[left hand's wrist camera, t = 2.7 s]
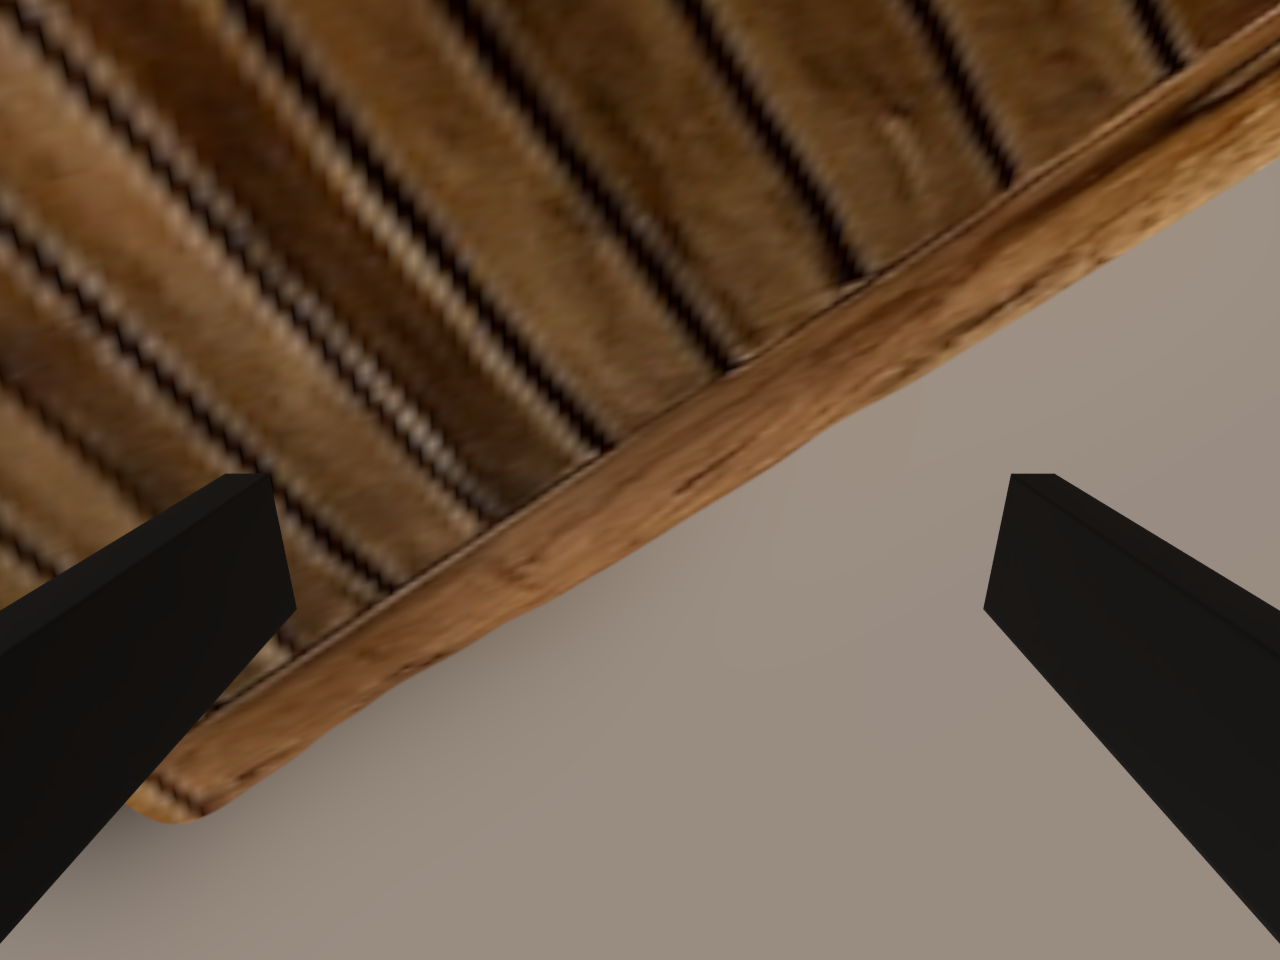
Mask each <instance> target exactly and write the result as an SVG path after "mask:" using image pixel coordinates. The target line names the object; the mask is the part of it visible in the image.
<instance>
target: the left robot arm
mask: <svg viewBox="0 0 1280 960" xmlns="http://www.w3.org/2000/svg"><path fill="white" fill-rule="evenodd" d="M296 609H297V608H296V603H295V598H294V594H293V589H292V584H291V579H290V574H289V569H288V564H287V560H286V555H285V550H284V545H283V540H282V535H281V530H280V526H279V521H278V516H277V511H276V506H275V501H274V496H273V492H272V487H271V482H270V477H269V474H224V475H223V476H221V477H219V478H218V479H216V480H214V481H213V482H211V483H209V484H208V485H206V486H204V487H203V488H201V489H200V490H198V491H196V492H195V493H193V494H191V495H190V496H188V497H186V498H185V499H183V500H181V501H180V502H178V503H177V504H175V505H173V506H172V507H170V508H168V509H167V510H165V511H163V512H162V513H160V514H158V515H157V516H155V517H153V518H152V519H150V520H149V521H147V522H145V523H144V524H142V525H140V526H139V527H137V528H135V529H134V530H132V531H130V532H129V533H127V534H126V535H124V536H122V537H121V538H119V539H117V540H116V541H114V542H112V543H111V544H109V545H107V546H106V547H104V548H103V549H101V550H99V551H98V552H96V553H94V554H93V555H91V556H89V557H88V558H86V559H84V560H83V561H81V562H79V563H78V564H76V565H75V566H73V567H71V568H70V569H68V570H66V571H65V572H63V573H61V574H60V575H58V576H56V577H55V578H53V579H52V580H50V581H48V582H47V583H45V584H43V585H42V586H40V587H38V588H37V589H35V590H33V591H32V592H30V593H29V594H27V595H25V596H24V597H22V598H20V599H19V600H17V601H15V602H14V603H12V604H10V605H9V606H7V607H5V608H4V609H2V610H1V611H0V943H1V942H2V941H3V940H4V939H5V938H6V936H7V935H8V934H9V933H10V932H11V931H12V930H13V929H14V927H15V926H16V925H17V924H18V923H19V922H20V921H21V920H22V918H23V917H24V916H25V915H26V914H27V913H28V912H29V910H30V909H31V908H32V907H33V906H34V905H35V904H36V903H37V901H38V900H39V899H40V898H41V897H42V896H43V895H44V894H45V892H46V891H47V890H48V889H49V888H50V887H51V886H52V885H53V883H54V882H55V881H56V880H57V879H58V878H59V877H60V875H61V874H62V873H63V872H64V871H65V870H66V869H67V868H68V866H69V865H70V864H71V863H72V862H73V861H74V860H75V859H76V857H77V856H78V855H79V854H80V853H81V852H82V851H83V849H84V848H85V847H86V846H87V845H88V844H89V843H90V842H91V841H92V839H93V838H94V837H95V836H96V835H97V834H98V833H99V832H100V830H101V829H102V828H103V827H104V826H105V825H106V824H107V822H108V821H109V820H110V819H111V818H112V817H113V816H114V815H115V813H116V812H117V811H118V810H119V809H120V808H121V807H122V806H123V804H124V803H125V802H126V801H127V800H128V799H129V798H130V797H131V795H132V794H133V793H134V792H135V791H136V790H137V789H138V788H139V786H140V785H141V784H142V783H143V782H144V781H145V780H146V779H147V777H148V776H149V775H150V774H151V773H152V772H153V771H154V769H155V768H156V767H157V766H158V765H159V764H160V763H161V762H162V760H163V759H164V758H165V757H166V756H167V755H168V754H169V753H170V751H171V750H172V749H173V748H174V747H175V746H176V745H177V744H178V742H179V741H180V740H181V739H182V738H183V737H184V736H185V735H186V733H187V732H188V731H189V730H190V729H191V728H192V727H193V725H194V724H195V723H196V722H197V721H198V720H199V719H200V718H201V716H202V715H203V714H204V713H205V712H206V711H207V710H208V709H209V707H210V706H211V705H212V704H213V703H214V702H215V701H216V700H217V698H218V697H219V696H220V695H221V694H222V693H223V692H224V691H225V689H226V688H227V687H228V686H229V685H230V684H231V683H232V681H233V680H234V679H235V678H236V677H237V676H238V675H239V674H240V672H241V671H242V670H243V669H244V668H245V667H246V666H247V665H248V663H249V662H250V661H251V660H252V659H253V658H254V657H255V656H256V654H257V653H258V652H259V651H260V650H261V649H262V648H263V646H264V645H265V644H266V643H267V642H268V641H269V640H270V639H271V637H272V636H273V635H274V634H275V633H276V632H277V631H278V630H279V628H280V627H281V626H282V625H283V624H284V623H285V622H286V621H287V619H288V618H289V617H290V616H291V615H292V614H293V613H294V612H295V610H296ZM983 609H984V610H985V612H986V613H987V614H988V615H989V616H990V617H991V618H992V619H993V621H994V622H995V623H996V624H997V625H998V626H999V627H1000V628H1001V630H1002V631H1003V632H1004V633H1005V634H1006V635H1007V636H1008V637H1009V639H1010V640H1011V641H1012V642H1013V643H1014V644H1015V645H1016V646H1017V648H1018V649H1019V650H1020V651H1021V652H1022V653H1023V654H1024V656H1025V657H1026V658H1027V659H1028V660H1029V661H1030V662H1031V663H1032V664H1033V666H1034V667H1035V668H1036V669H1037V670H1038V671H1039V672H1040V674H1041V675H1042V676H1043V677H1044V678H1045V679H1046V680H1047V681H1048V683H1049V684H1050V685H1051V686H1052V687H1053V688H1054V689H1055V691H1056V692H1057V693H1058V694H1059V695H1060V696H1061V697H1062V698H1063V700H1064V701H1065V702H1066V703H1067V704H1068V705H1069V706H1070V707H1071V709H1072V710H1073V711H1074V712H1075V713H1076V714H1077V715H1078V716H1079V718H1080V719H1081V720H1082V721H1083V722H1084V723H1085V724H1086V725H1087V727H1088V728H1089V729H1090V730H1091V731H1092V732H1093V733H1094V734H1095V736H1096V737H1097V738H1098V739H1099V740H1100V741H1101V742H1102V744H1103V745H1104V746H1105V747H1106V748H1107V749H1108V750H1109V751H1110V753H1111V754H1112V755H1113V756H1114V757H1115V758H1116V759H1117V760H1118V762H1119V763H1120V764H1121V765H1122V766H1123V767H1124V768H1125V769H1126V771H1127V772H1128V773H1129V774H1130V775H1131V776H1132V777H1133V779H1134V780H1135V781H1136V782H1137V783H1138V784H1139V785H1140V786H1141V788H1142V789H1143V790H1144V791H1145V792H1146V793H1147V794H1148V795H1149V797H1150V798H1151V799H1152V800H1153V801H1154V802H1155V803H1156V804H1157V806H1158V807H1159V808H1160V809H1161V810H1162V811H1163V812H1164V813H1165V815H1166V816H1167V817H1168V818H1169V819H1170V820H1171V821H1172V822H1173V824H1174V825H1175V826H1176V827H1177V828H1178V829H1179V830H1180V832H1181V833H1182V834H1183V835H1184V836H1185V837H1186V838H1187V839H1188V841H1189V842H1190V843H1191V844H1192V845H1193V846H1194V847H1195V848H1196V850H1197V851H1198V852H1199V853H1200V854H1201V855H1202V856H1203V857H1204V859H1205V860H1206V861H1207V862H1208V863H1209V864H1210V865H1211V866H1212V868H1213V869H1214V870H1215V871H1216V872H1217V873H1218V874H1219V876H1220V877H1221V878H1222V879H1223V880H1224V881H1225V882H1226V883H1227V885H1228V886H1229V887H1230V888H1231V889H1232V890H1233V891H1234V892H1235V894H1236V895H1237V896H1238V897H1239V898H1240V899H1241V900H1242V901H1243V903H1244V904H1245V905H1246V906H1247V907H1248V908H1249V909H1250V910H1251V912H1252V913H1253V914H1254V915H1255V916H1256V917H1257V918H1258V920H1259V921H1260V922H1261V923H1262V924H1263V925H1264V926H1265V927H1266V929H1267V930H1268V931H1269V932H1270V933H1271V934H1272V935H1273V936H1274V938H1275V939H1276V940H1277V941H1278V942H1279V943H1280V611H1279V610H1278V609H1276V608H1275V607H1273V606H1271V605H1270V604H1268V603H1266V602H1265V601H1263V600H1261V599H1260V598H1258V597H1256V596H1255V595H1253V594H1251V593H1250V592H1248V591H1247V590H1245V589H1243V588H1242V587H1240V586H1238V585H1237V584H1235V583H1233V582H1232V581H1230V580H1228V579H1227V578H1225V577H1224V576H1222V575H1220V574H1219V573H1217V572H1215V571H1214V570H1212V569H1210V568H1209V567H1207V566H1205V565H1204V564H1202V563H1200V562H1199V561H1197V560H1196V559H1194V558H1192V557H1191V556H1189V555H1187V554H1186V553H1184V552H1182V551H1181V550H1179V549H1177V548H1176V547H1174V546H1173V545H1171V544H1169V543H1168V542H1166V541H1164V540H1163V539H1161V538H1159V537H1158V536H1156V535H1154V534H1153V533H1151V532H1150V531H1148V530H1146V529H1145V528H1143V527H1141V526H1140V525H1138V524H1136V523H1135V522H1133V521H1131V520H1130V519H1128V518H1126V517H1125V516H1123V515H1121V514H1120V513H1118V512H1117V511H1115V510H1113V509H1112V508H1110V507H1108V506H1107V505H1105V504H1103V503H1102V502H1100V501H1098V500H1097V499H1095V498H1094V497H1092V496H1090V495H1089V494H1087V493H1085V492H1084V491H1082V490H1080V489H1079V488H1077V487H1075V486H1074V485H1072V484H1071V483H1069V482H1067V481H1066V480H1064V479H1062V478H1061V477H1059V476H1057V475H1056V474H1011V477H1010V482H1009V487H1008V492H1007V496H1006V501H1005V506H1004V511H1003V516H1002V521H1001V526H1000V531H999V535H998V540H997V545H996V550H995V555H994V560H993V565H992V569H991V574H990V579H989V584H988V589H987V594H986V599H985V603H984V608H983Z"/></svg>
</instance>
